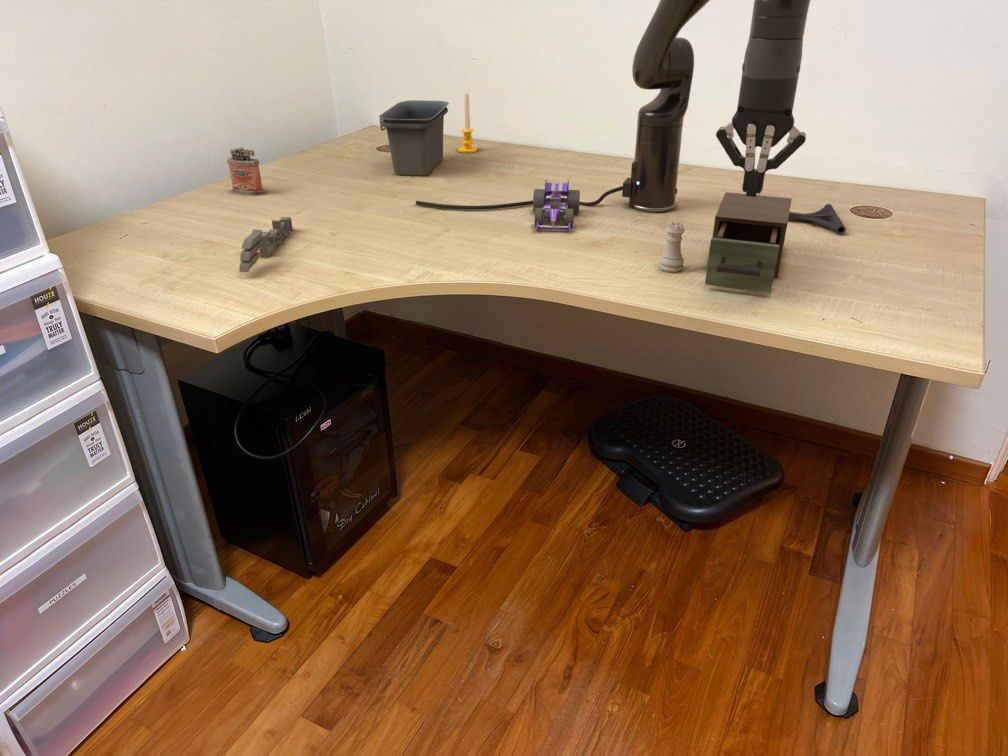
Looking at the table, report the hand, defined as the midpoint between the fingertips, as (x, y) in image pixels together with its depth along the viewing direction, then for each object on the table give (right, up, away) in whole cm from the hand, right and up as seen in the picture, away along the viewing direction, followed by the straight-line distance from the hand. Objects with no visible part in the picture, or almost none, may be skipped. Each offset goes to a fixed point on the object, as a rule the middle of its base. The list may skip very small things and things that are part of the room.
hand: (751, 195), depth 114 cm
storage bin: (-60, +26, +79) cm, 103 cm away
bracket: (+23, +4, +41) cm, 47 cm away
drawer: (+2, -11, +13) cm, 17 cm away
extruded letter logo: (-81, -4, +28) cm, 86 cm away
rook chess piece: (-8, -8, +20) cm, 23 cm away
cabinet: (+7, -6, +23) cm, 25 cm away
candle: (-47, +34, +94) cm, 110 cm away
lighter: (-96, +15, +62) cm, 116 cm away
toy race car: (-27, +5, +43) cm, 50 cm away
